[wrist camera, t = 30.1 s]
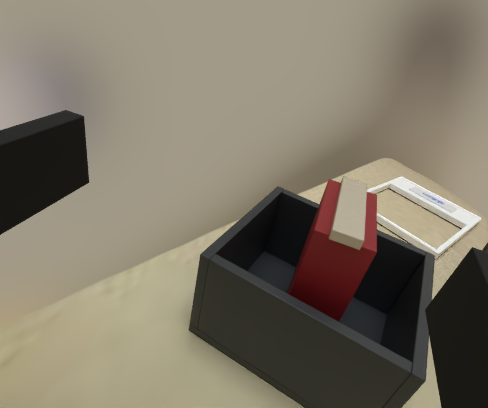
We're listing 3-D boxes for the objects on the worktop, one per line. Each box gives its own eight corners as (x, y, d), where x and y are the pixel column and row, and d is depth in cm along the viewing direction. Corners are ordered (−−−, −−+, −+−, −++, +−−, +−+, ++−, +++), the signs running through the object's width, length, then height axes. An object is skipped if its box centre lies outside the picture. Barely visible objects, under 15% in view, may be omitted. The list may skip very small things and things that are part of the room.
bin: (188, 330, 28) (200, 254, 24) (259, 249, 39) (277, 186, 34) (365, 448, 23) (426, 381, 18) (392, 318, 34) (435, 254, 29)
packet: (269, 347, 27) (316, 223, 20) (290, 280, 34) (331, 171, 27) (315, 367, 27) (381, 246, 20) (328, 295, 34) (379, 187, 27)
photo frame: (482, 217, 54) (439, 253, 43) (478, 222, 55) (435, 259, 44) (401, 175, 63) (348, 196, 51) (399, 180, 63) (346, 202, 52)
